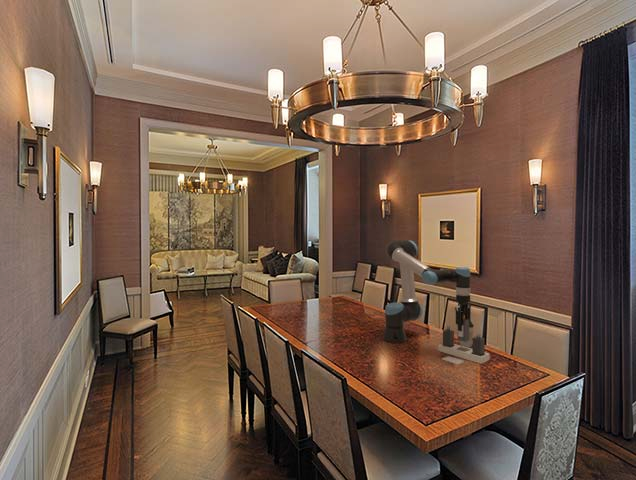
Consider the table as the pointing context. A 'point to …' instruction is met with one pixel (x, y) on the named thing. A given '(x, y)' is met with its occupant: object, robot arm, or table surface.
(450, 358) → the mat
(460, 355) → the strip
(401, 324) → the robot arm
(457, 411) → the table surface
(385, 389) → the table surface
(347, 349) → the table surface
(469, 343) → the coffee cup
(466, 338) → the plug
